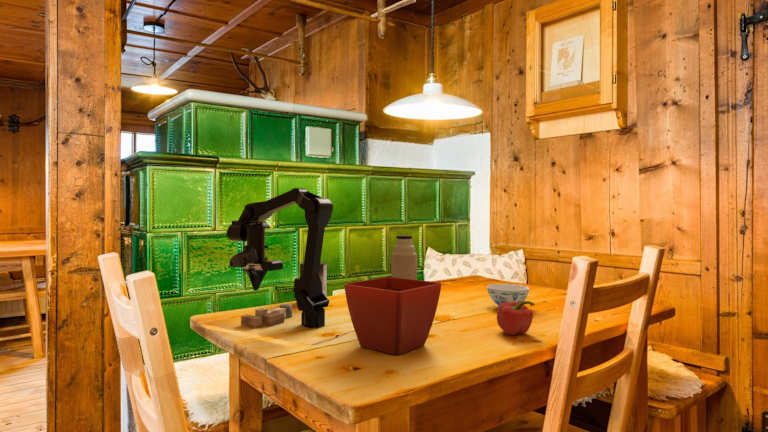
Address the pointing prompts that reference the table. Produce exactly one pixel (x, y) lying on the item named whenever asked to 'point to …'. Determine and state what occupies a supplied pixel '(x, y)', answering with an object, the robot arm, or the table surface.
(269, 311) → the leg
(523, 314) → the vegetable
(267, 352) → the table surface
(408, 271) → the thermos bottle
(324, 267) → the coffee box
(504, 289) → the chinaware
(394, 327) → the plant pot
